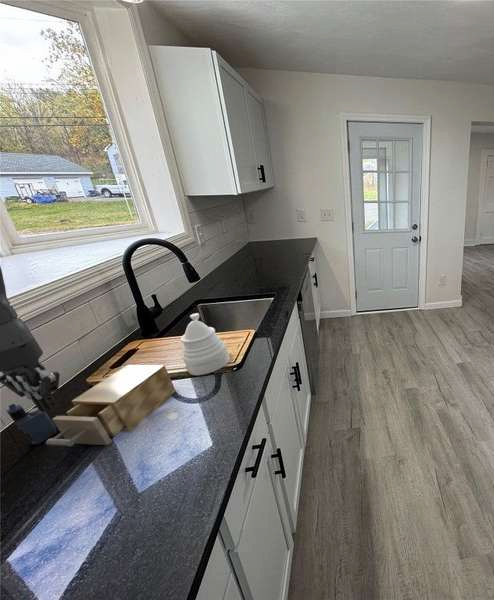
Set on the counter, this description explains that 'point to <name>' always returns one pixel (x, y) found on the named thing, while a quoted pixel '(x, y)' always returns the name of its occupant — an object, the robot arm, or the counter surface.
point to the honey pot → (203, 348)
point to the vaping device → (32, 423)
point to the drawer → (87, 425)
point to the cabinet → (131, 392)
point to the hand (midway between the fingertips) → (50, 409)
